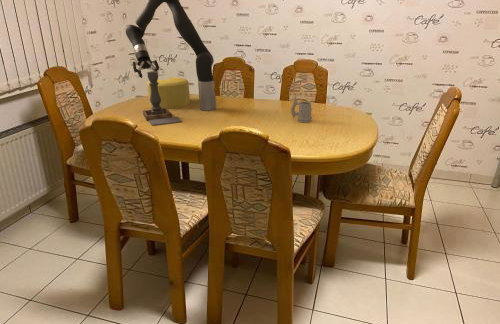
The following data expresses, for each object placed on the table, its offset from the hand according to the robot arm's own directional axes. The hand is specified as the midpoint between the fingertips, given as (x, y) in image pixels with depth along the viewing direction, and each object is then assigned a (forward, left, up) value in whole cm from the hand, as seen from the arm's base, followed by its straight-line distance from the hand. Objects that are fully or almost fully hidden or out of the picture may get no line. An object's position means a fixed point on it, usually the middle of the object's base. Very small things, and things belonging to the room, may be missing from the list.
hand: (149, 76), depth 215 cm
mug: (-71, +51, -22) cm, 90 cm away
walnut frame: (-1, +9, -21) cm, 23 cm away
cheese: (-14, -20, -22) cm, 32 cm away
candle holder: (-1, +9, -22) cm, 23 cm away
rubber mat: (-3, +22, -21) cm, 31 cm away
